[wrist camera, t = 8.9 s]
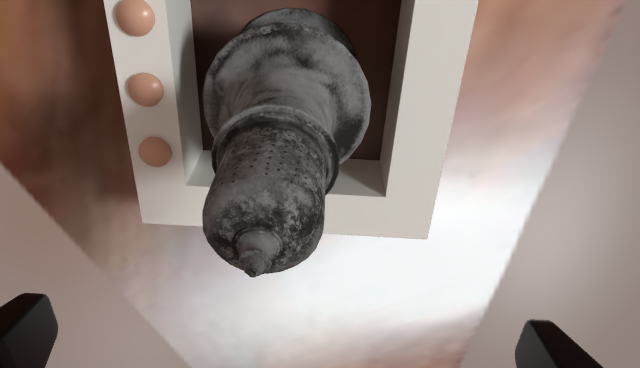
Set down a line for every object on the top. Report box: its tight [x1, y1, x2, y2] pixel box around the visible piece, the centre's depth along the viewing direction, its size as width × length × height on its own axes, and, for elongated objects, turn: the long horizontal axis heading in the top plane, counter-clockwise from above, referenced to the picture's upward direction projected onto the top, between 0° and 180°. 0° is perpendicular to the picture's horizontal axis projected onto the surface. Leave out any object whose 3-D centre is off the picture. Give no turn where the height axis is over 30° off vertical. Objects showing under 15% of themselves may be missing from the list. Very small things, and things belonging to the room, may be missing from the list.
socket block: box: [104, 0, 479, 239], centre depth 19 cm, size 12×12×3 cm
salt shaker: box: [202, 8, 371, 277], centre depth 15 cm, size 6×6×12 cm
